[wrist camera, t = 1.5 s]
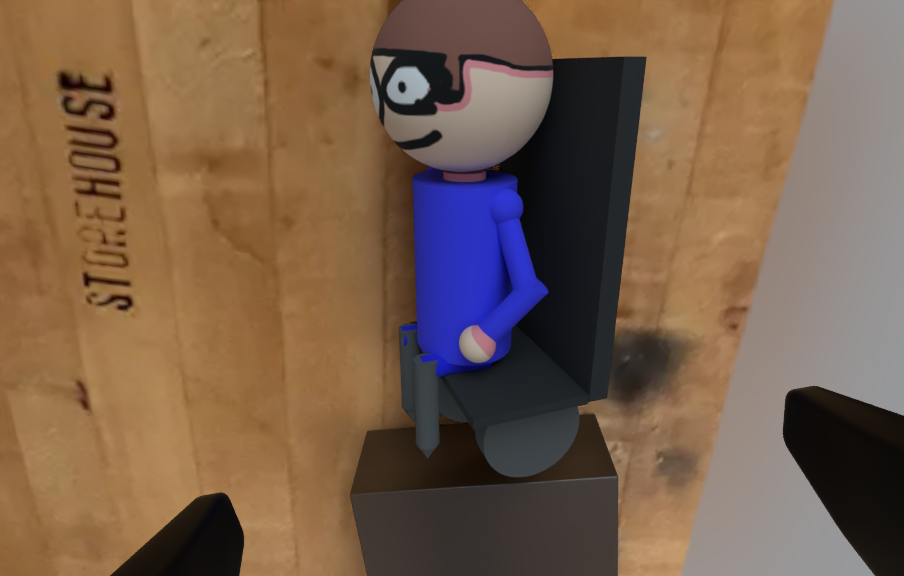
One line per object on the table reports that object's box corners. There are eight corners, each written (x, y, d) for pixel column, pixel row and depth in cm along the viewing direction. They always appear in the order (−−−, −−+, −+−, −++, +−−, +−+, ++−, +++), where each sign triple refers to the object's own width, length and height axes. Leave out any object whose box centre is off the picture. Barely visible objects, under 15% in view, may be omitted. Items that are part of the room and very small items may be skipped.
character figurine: (402, 385, 24) (397, -3, 19) (572, 397, 23) (618, -1, 18) (355, 520, 17) (324, -53, 11) (600, 543, 16) (691, -52, 11)
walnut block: (595, 413, 24) (618, 476, 20) (597, 582, 28) (617, 663, 24) (366, 430, 25) (349, 494, 21) (398, 594, 28) (388, 674, 25)
